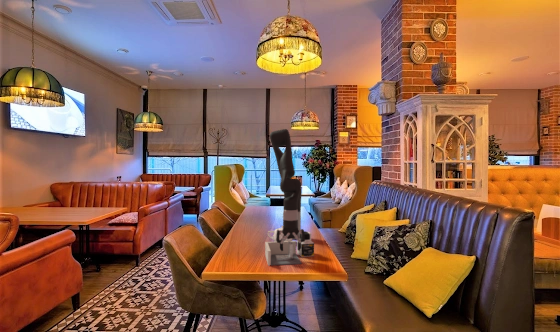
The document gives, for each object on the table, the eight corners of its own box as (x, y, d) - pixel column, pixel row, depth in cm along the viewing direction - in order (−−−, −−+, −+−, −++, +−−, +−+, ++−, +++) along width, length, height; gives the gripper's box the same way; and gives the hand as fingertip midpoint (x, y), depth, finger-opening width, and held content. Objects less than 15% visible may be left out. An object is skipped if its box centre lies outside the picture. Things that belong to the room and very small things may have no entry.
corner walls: (265, 255, 155) (265, 242, 155) (295, 253, 157) (295, 240, 157) (268, 265, 140) (268, 251, 140) (301, 264, 142) (301, 249, 142)
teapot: (299, 239, 185) (299, 223, 185) (300, 245, 173) (300, 228, 172) (267, 239, 185) (267, 223, 185) (266, 245, 173) (266, 228, 173)
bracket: (276, 260, 145) (276, 244, 144) (275, 257, 150) (275, 242, 149) (292, 260, 146) (292, 244, 146) (291, 256, 151) (291, 241, 150)
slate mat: (267, 255, 154) (267, 254, 154) (295, 254, 156) (295, 253, 156) (270, 265, 140) (270, 264, 140) (301, 264, 142) (301, 262, 142)
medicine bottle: (301, 257, 152) (301, 234, 152) (296, 253, 159) (297, 231, 158) (314, 256, 154) (314, 233, 153) (309, 251, 161) (309, 230, 160)
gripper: (277, 220, 143) (277, 253, 143) (306, 219, 145) (305, 252, 145) (275, 217, 150) (275, 248, 151) (302, 216, 152) (302, 247, 153)
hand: (290, 250), depth 148 cm, fingers open, 8 cm apart
